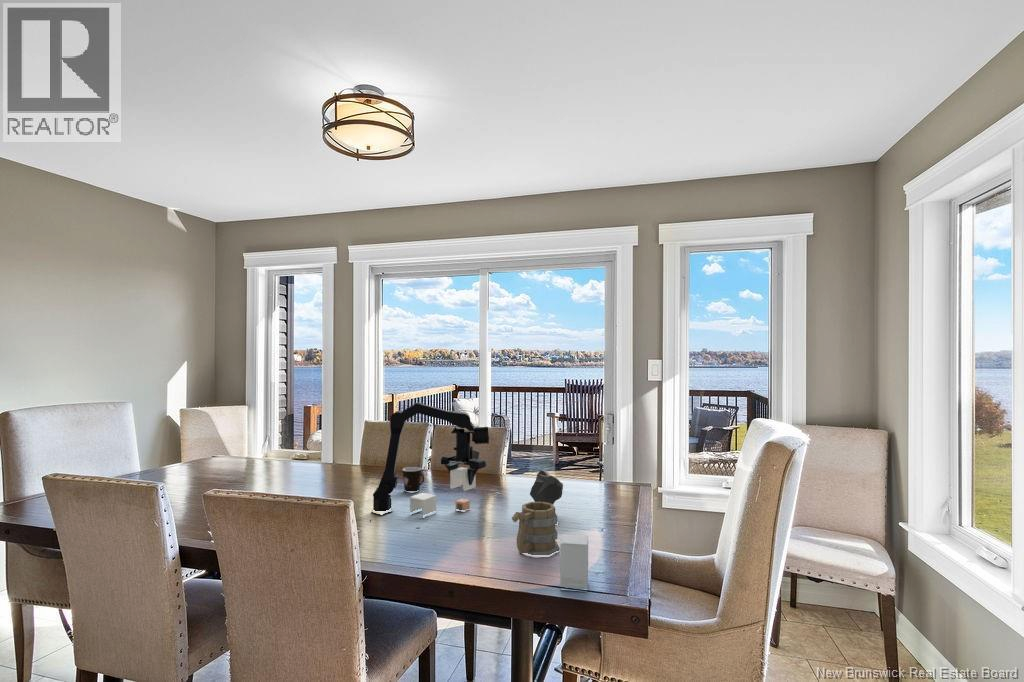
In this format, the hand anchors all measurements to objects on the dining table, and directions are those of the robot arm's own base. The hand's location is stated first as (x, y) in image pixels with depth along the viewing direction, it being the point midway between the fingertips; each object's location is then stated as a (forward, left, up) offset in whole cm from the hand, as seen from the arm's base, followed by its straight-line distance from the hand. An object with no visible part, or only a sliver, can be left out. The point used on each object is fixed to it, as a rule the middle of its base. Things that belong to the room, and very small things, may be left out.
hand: (463, 483), depth 207 cm
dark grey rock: (+11, -32, -11) cm, 35 cm away
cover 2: (0, 0, -2) cm, 2 cm away
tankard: (-23, -45, -11) cm, 52 cm away
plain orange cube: (0, 0, -11) cm, 11 cm away
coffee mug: (+9, +35, -11) cm, 38 cm away
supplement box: (-36, -66, -11) cm, 76 cm away
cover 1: (-12, +10, -11) cm, 19 cm away
